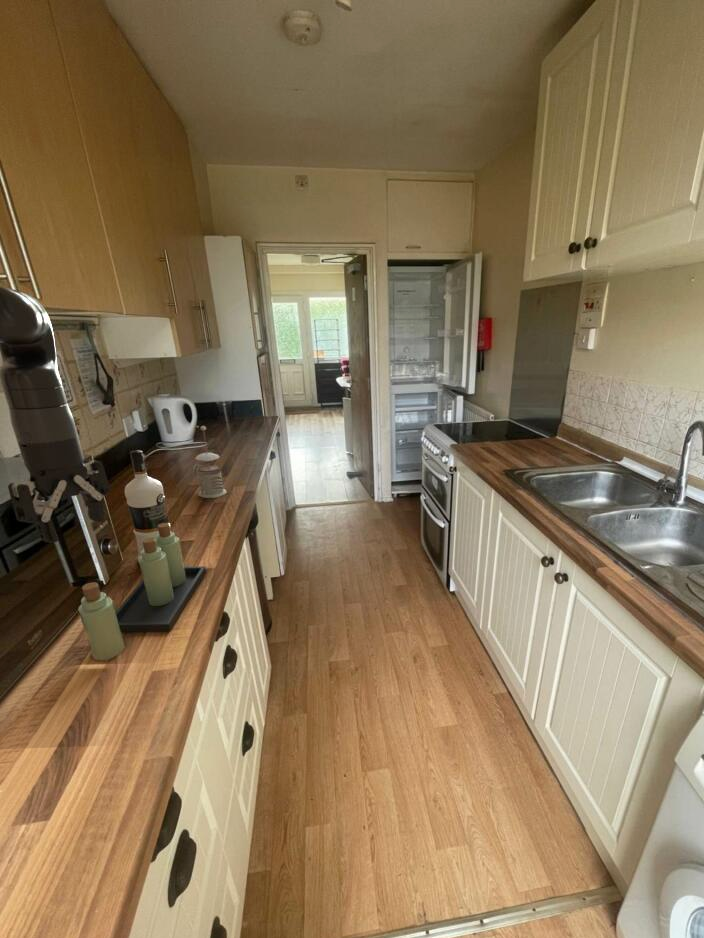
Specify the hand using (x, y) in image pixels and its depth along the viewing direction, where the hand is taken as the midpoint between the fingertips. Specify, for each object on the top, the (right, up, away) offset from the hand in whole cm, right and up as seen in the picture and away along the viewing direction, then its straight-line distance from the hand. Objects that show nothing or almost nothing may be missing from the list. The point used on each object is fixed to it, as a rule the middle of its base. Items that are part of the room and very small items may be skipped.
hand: (75, 530), depth 72 cm
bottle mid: (+2, -17, +25) cm, 30 cm away
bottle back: (+1, -14, +32) cm, 34 cm away
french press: (-12, +10, +87) cm, 88 cm away
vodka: (-8, -10, +41) cm, 43 cm away
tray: (+2, -17, +25) cm, 30 cm away
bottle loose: (0, -24, +10) cm, 26 cm away
